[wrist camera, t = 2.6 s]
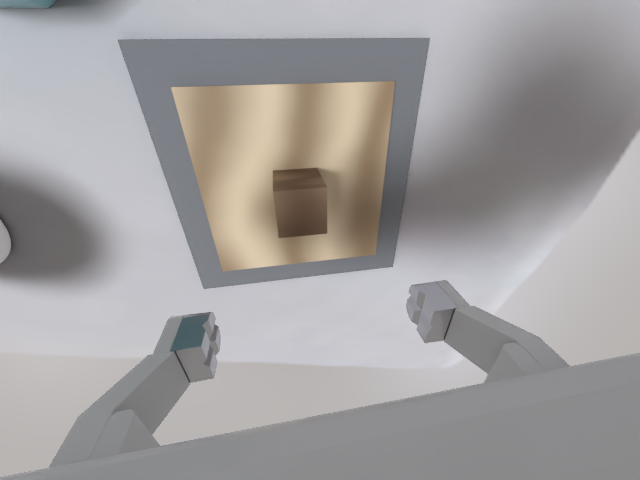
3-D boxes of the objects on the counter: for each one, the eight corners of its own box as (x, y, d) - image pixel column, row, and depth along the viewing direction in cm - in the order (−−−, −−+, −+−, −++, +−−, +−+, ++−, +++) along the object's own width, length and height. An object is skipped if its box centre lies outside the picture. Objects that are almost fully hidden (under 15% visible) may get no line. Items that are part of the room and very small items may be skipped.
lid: (390, 81, 19) (427, 81, 15) (372, 250, 27) (392, 284, 22) (174, 86, 17) (140, 89, 13) (224, 266, 25) (213, 306, 21)
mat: (426, 38, 18) (429, 37, 18) (391, 263, 29) (392, 266, 29) (121, 40, 16) (117, 39, 16) (204, 285, 27) (203, 288, 26)
